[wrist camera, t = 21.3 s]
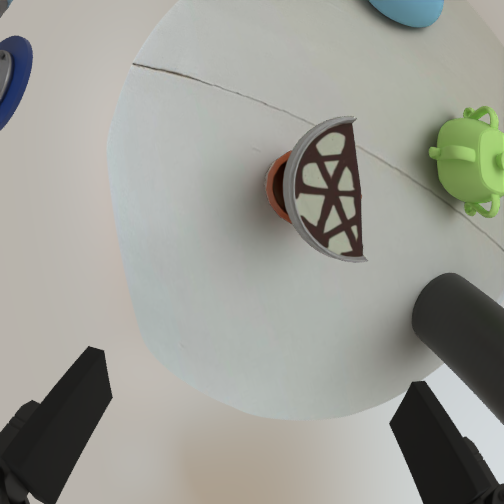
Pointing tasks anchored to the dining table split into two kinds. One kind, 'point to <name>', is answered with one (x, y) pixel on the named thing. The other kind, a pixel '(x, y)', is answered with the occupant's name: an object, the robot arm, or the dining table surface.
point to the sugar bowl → (410, 11)
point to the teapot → (472, 160)
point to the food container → (326, 190)
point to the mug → (277, 186)
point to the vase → (465, 335)
